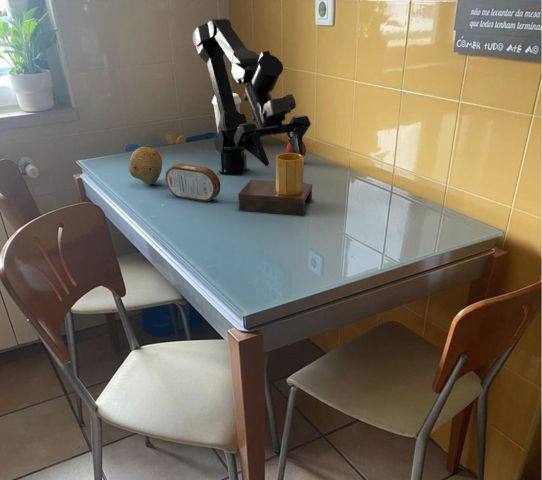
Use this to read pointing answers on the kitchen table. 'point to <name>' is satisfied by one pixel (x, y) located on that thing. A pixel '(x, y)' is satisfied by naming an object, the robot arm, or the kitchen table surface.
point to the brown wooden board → (273, 198)
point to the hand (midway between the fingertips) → (284, 162)
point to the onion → (290, 150)
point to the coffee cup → (216, 109)
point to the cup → (289, 173)
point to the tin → (193, 182)
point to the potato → (145, 165)
